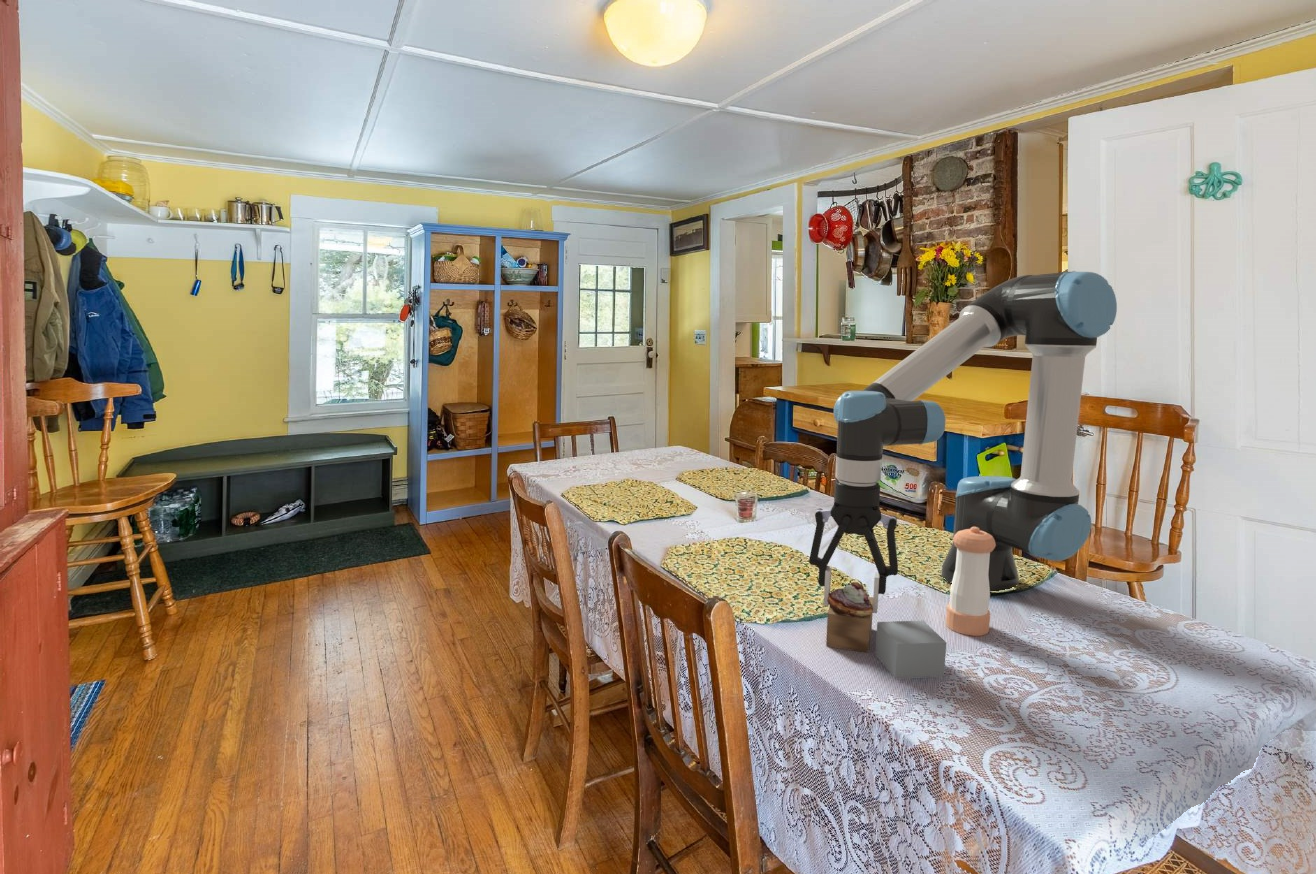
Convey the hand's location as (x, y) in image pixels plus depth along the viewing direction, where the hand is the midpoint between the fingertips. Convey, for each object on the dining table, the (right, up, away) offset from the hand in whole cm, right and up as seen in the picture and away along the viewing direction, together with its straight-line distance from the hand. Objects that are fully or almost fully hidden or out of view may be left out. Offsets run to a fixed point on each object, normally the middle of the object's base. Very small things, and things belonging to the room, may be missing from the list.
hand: (850, 606), depth 121 cm
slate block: (+7, -8, -9) cm, 14 cm away
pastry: (-1, 0, -2) cm, 2 cm away
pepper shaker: (+23, -5, +5) cm, 24 cm away
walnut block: (0, -6, +1) cm, 6 cm away
